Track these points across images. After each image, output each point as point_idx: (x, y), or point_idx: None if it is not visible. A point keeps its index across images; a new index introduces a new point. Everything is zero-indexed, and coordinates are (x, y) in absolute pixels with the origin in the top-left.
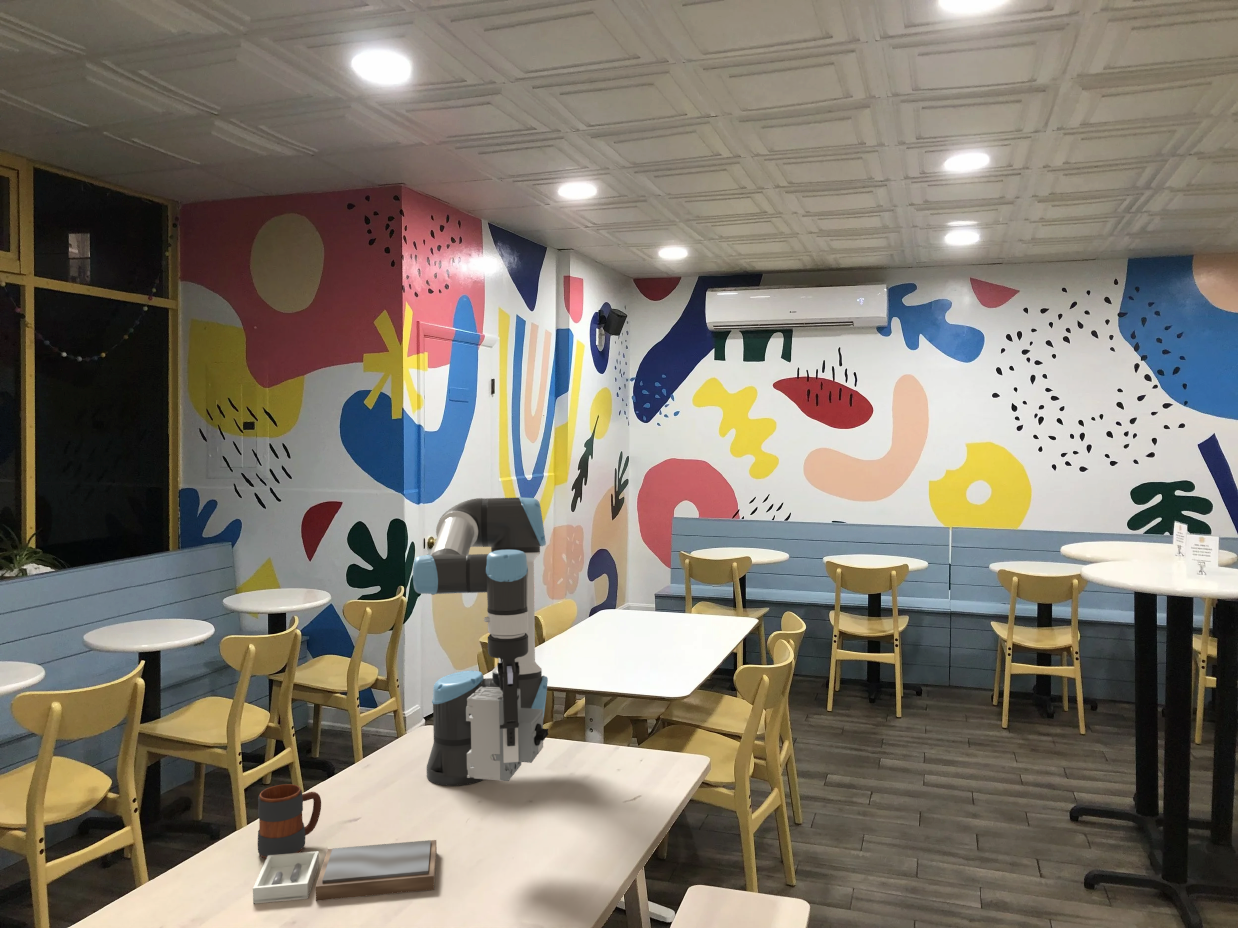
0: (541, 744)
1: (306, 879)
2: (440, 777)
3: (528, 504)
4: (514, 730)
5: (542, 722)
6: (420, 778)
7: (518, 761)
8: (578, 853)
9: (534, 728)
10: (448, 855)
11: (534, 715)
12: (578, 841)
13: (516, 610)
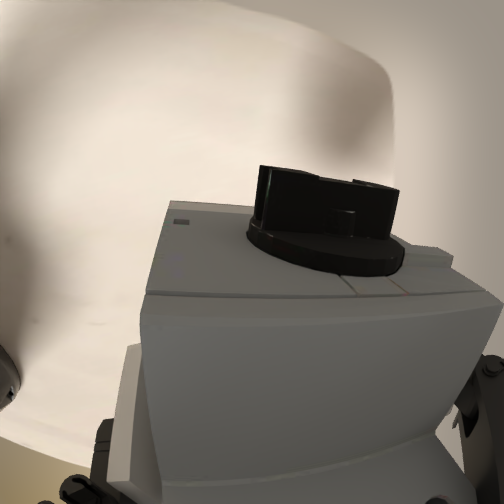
0: (203, 208)
1: None
2: (16, 385)
3: None
4: (482, 356)
5: (175, 248)
6: (17, 400)
7: None
8: (193, 95)
9: (411, 272)
10: None
11: (378, 343)
12: (143, 104)
13: None
